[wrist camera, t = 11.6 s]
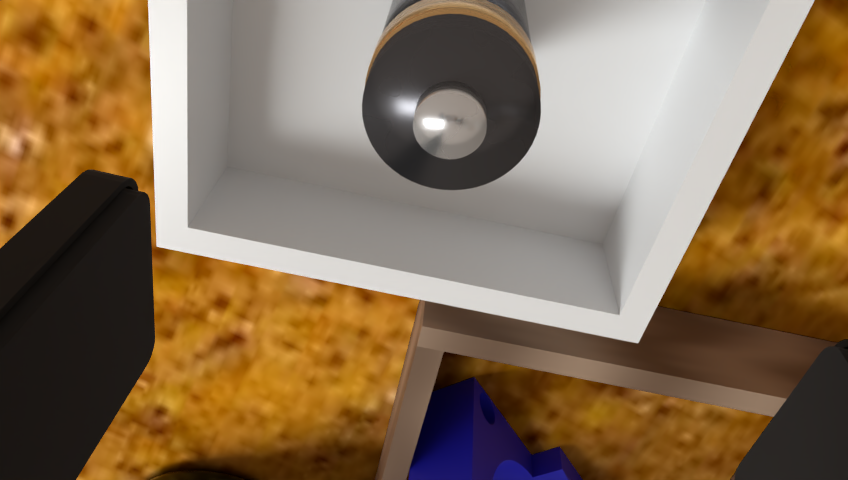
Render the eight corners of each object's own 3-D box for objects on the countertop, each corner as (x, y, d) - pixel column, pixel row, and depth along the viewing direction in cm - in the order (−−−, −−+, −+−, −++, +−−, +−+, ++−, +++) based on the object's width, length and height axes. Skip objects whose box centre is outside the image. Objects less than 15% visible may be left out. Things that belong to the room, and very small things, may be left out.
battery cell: (537, -52, 20) (563, 46, 14) (514, 81, 22) (527, 214, 16) (395, -67, 20) (358, 24, 14) (388, 68, 22) (353, 195, 16)
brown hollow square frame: (854, 346, 29) (902, 421, 25) (679, 574, 39) (697, 649, 36) (429, 259, 28) (422, 326, 25) (365, 516, 38) (354, 587, 35)
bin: (831, -232, 18) (933, -230, 14) (615, 255, 27) (638, 343, 23) (218, -382, 17) (133, -427, 13) (208, 170, 26) (156, 246, 22)
